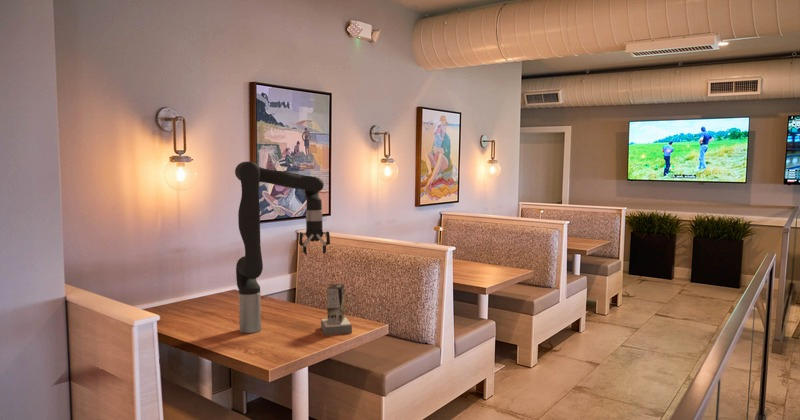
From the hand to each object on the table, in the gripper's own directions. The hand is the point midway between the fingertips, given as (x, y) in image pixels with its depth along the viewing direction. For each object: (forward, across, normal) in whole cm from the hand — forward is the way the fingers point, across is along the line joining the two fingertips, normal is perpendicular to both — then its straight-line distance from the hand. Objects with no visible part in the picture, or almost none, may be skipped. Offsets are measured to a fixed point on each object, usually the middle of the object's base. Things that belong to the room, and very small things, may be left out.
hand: (314, 253), depth 265 cm
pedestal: (+32, +7, -18) cm, 37 cm away
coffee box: (+28, +7, -18) cm, 34 cm away
